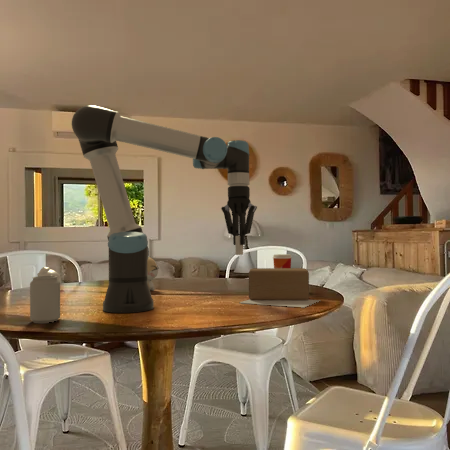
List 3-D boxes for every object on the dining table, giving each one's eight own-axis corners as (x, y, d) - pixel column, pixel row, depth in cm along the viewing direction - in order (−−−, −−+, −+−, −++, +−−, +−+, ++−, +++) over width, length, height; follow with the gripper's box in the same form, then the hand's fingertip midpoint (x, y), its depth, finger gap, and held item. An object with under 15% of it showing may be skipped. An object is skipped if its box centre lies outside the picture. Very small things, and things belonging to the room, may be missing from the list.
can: (63, 318, 130) (63, 274, 130) (55, 323, 122) (54, 277, 123) (36, 318, 130) (36, 275, 130) (25, 324, 122) (25, 277, 122)
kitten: (155, 293, 182) (155, 254, 182) (129, 293, 182) (129, 254, 182) (160, 288, 197) (160, 252, 197) (136, 288, 197) (136, 252, 197)
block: (250, 296, 168) (307, 296, 166) (248, 300, 158) (309, 300, 156) (249, 268, 168) (306, 268, 167) (248, 270, 158) (309, 270, 157)
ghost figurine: (41, 290, 194) (41, 266, 194) (64, 290, 194) (64, 265, 194) (31, 293, 185) (31, 267, 185) (55, 293, 185) (55, 267, 185)
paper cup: (269, 289, 191) (269, 254, 191) (287, 288, 193) (286, 254, 193) (277, 291, 183) (277, 255, 184) (295, 290, 186) (295, 254, 186)
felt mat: (303, 308, 143) (303, 307, 143) (239, 303, 154) (239, 302, 154) (320, 301, 157) (320, 300, 157) (260, 297, 168) (260, 296, 168)
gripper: (260, 186, 163) (261, 254, 163) (227, 188, 170) (228, 253, 170) (250, 184, 157) (251, 255, 157) (216, 186, 163) (217, 254, 163)
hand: (239, 254), depth 163 cm, fingers closed
